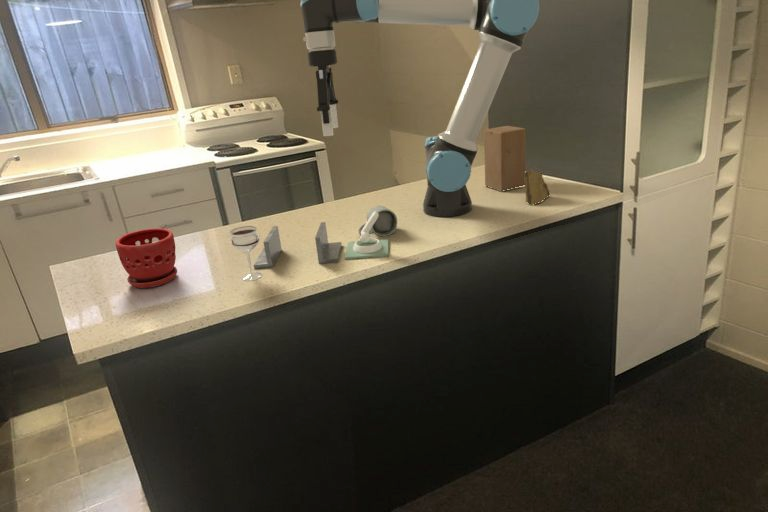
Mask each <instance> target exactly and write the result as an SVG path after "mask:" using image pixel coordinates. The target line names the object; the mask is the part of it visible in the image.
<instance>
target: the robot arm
mask: <svg viewBox="0 0 768 512" xmlns="http://www.w3.org/2000/svg"><path fill="white" fill-rule="evenodd" d="M539 1H540V0H300V10H301V15H302V16H301V17H302V21H303V22H302V23H303V29H304V30H303V31H304V35H305V36H303V38H302V39H303V42H306V43H305V44H306V49H307V50H309V51H307V53H306V55H307V61H308V66H309V67H317V70H315V78H316V86H317V102H318V106H317V107H316V111H317V112H319V113H320V121H321V128H322V136H323V137H331V136H332V137H333V136H334V129H337V128H338V129H339V120H338V114H337V113H338V112H337V110H338V109H337V104H339V99H337V97H336V92H335V87H334V79H333V77H334V76H333V75H334V73H333V71H332V67H329V66H332V65H333V66H334V65H337V63H338V58H337V57H338V56H337V51H336V49H334V48H335V47H336V39H335V30H334V24H339V23H351V22H352V23H353V22H354V23H357V24H398V25H400V24H401V25H435V26H461V27H463V26H464V27H467V26H468V27H469V28H470V29H471V30H472V31H477V34H478V36H479V39H480V43H479V44H478V47H477V51H476V52H475V55H474V58H473V61H472V63H471V66H470V67H469V71H468V73H467V75H466V79H465V81H464V83H463V86H462V88H461V91H460V93H459V96H458V99H457V101H456V104H455V105H454V106H455V107H454V108H453V111H452V114H451V116H450V119H449V122H448V124H447V127H446V130H445V131H442V132H440V133H438V135H434V136H429V137H427V138H426V139H425V143H424V144H425V145H424V148H425V162H426V170H425V171H426V180H427V188H426V191H425V196H424V199H423V203H422V207H423V209H422V210H423V212H424V213H425V214H426V215H428V216H434V217H455V216H461V215H464V214H468V213H469V212H471V211H472V209H473V204H472V201H473V200H472V198H471V195H470V193H469V191H468V187H467V183H468V181H469V179H470V178H471V173H472V165H473V163H474V160H475V158H476V155H477V153H478V151H479V148H478V146H477V142H476V141H477V138H478V136H479V133H480V132H481V129H482V127H483V124H484V122H485V119H486V118H487V117H486V116H487V114H488V113H489V110H490V107H491V105H492V103H493V100H494V98H495V96H496V93H497V90H498V88H499V85H500V83H501V81H502V80H503V76H504V75H505V71H506V69H507V66H508V65H509V62H510V59H511V57H512V55H513V53H515V52H517V51H519V50H521V48H522V46H523V44H524V41H525V39H526V36H527V34H528V32H529V30H531V28H533V26H534V24H536V22H537V20H538V17H539V14H540V13H539V12H540V2H539Z"/></svg>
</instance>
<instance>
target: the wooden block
mask: <svg viewBox="0 0 768 512" xmlns="http://www.w3.org/2000/svg"><path fill="white" fill-rule="evenodd" d="M483 134H484V138H483V139H484V186H485V185H486V186H489V187H492V188H495V189H498V190H501V191H503V190H507V189H511V188H515V187H519V186H523V185H525V179H524V178H525V172H526V146H527V144H526V139H527V138H526V135H527V130H526V128H524V127H519V126H514V125H513V126H511V125H505V126H504V125H503V126H498V127H491V128H486V129H484V131H483ZM486 186H485V187H486Z"/></svg>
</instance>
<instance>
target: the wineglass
mask: <svg viewBox="0 0 768 512" xmlns="http://www.w3.org/2000/svg"><path fill="white" fill-rule="evenodd" d="M257 230H258V227H257V226H255V225H246V226H245V225H243V226H238V227H236V228H232V229H230V230H229V232H228V234H229V236H230V238H229V241H230V244H231V245H232V247H233V249H236V251H239V252H243V253H244V254H246V255H245V256H246V259H247V264H248V268H249V273H246V274H244V275H243V276H242V277H241V280H242V281H246V282H250V281H251V282H252V281H255V280H258V279H261V278H262V276H263V273H261V272H258V271H257V272H256V271H255V272H254V271H253V270H252V262H251V256H250V253H251V251H253V250H254V249H255V248H256V247H257V246H258V244H259V241H260V234H259V233H258V232H257Z"/></svg>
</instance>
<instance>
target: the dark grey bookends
mask: <svg viewBox="0 0 768 512" xmlns="http://www.w3.org/2000/svg"><path fill="white" fill-rule="evenodd" d="M314 241H315V246H316V253H317V261H318V264H319V265H320V264H321V265H322V264H332V263H335V262H336V263H338V262H339V258H340V255H341V251H342V243H343V242H342V241H337V242H329V239H328V231H327V223H326V221H324V222H323V221H322V222H320V225H319V227H318V229H317V232H316V235H315V237H314ZM282 251H283V249H282V243H281V238H280V232H279V226H278V225H273V226H272V227H271V230H270V231H269V232H268V234H267V235H266V237H265V239H264V240H263V249H262V250H261V251H260V254H259V255H258V256H257V258H256V260H255V262H254V263H253V269H255V270H256V269H266V268H268V269H269V268H273V267H274V266H275V264H276V262H277V260H278V258H279V256H280V254H281V253H282Z"/></svg>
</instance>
